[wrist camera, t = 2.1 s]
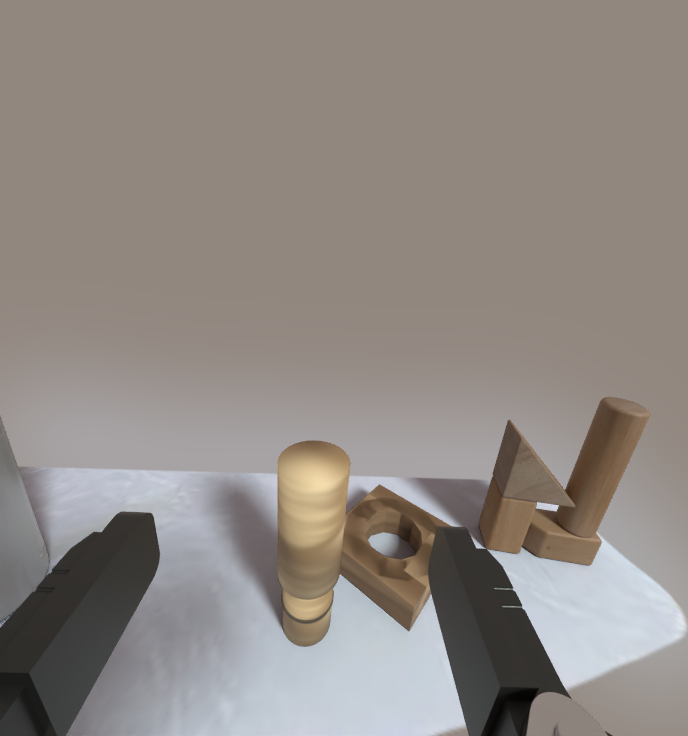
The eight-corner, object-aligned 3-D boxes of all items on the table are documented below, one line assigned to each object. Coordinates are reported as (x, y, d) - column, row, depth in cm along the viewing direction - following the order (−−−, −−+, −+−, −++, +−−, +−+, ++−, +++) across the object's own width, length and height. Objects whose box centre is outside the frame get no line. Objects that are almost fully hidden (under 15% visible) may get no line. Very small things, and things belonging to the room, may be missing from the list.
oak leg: (306, 668, 24) (315, 498, 19) (265, 621, 27) (262, 461, 21) (346, 616, 28) (364, 460, 22) (306, 580, 31) (313, 433, 25)
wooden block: (477, 523, 38) (517, 384, 32) (573, 539, 37) (634, 398, 31) (485, 550, 35) (532, 400, 29) (591, 568, 34) (665, 416, 28)
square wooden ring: (409, 631, 27) (414, 607, 26) (321, 557, 33) (322, 535, 32) (454, 552, 34) (460, 531, 33) (376, 503, 40) (379, 484, 39)
